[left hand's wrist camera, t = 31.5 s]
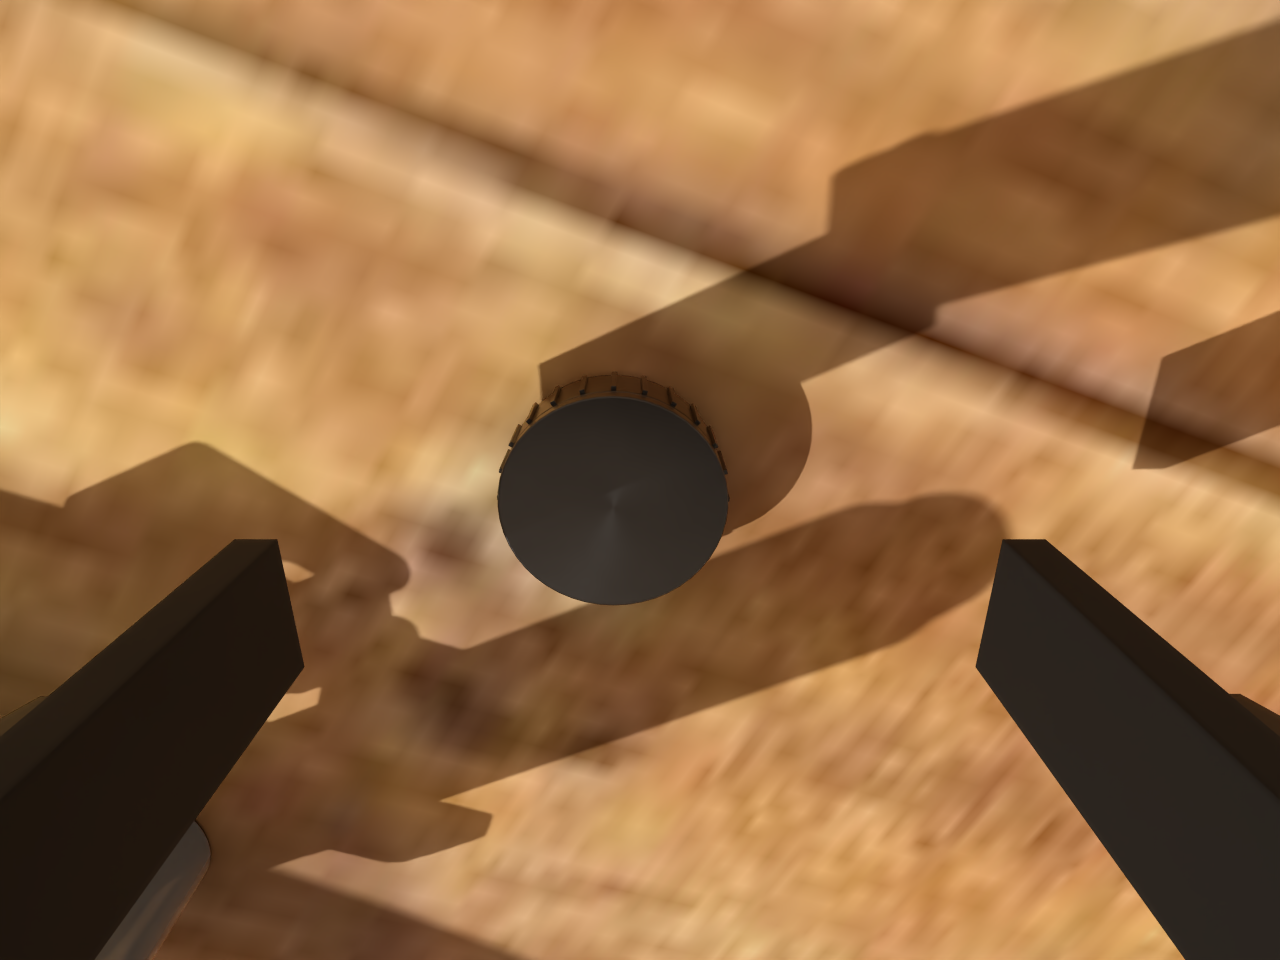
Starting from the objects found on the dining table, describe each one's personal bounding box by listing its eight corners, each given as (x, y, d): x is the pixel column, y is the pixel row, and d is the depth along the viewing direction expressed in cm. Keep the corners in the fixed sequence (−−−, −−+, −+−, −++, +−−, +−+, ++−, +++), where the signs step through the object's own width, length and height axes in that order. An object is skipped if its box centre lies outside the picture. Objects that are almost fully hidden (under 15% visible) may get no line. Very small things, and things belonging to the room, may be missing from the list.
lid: (469, 419, 16) (451, 446, 14) (677, 337, 15) (682, 355, 14) (560, 596, 18) (554, 636, 16) (750, 528, 17) (762, 564, 15)
